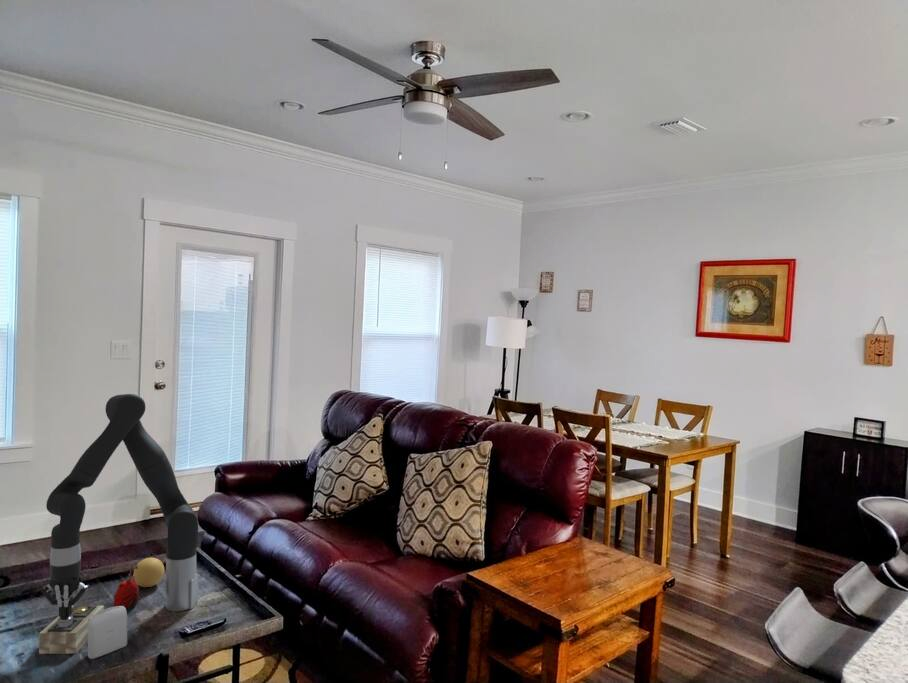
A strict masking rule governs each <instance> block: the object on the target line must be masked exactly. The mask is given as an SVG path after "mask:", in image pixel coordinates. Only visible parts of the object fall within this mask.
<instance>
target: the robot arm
mask: <svg viewBox="0 0 908 683" xmlns="http://www.w3.org/2000/svg"><path fill="white" fill-rule="evenodd" d="M146 407H147V406H146V402H145V400H144V399H143V397H141V396H140V395H138V394H135V393H124V394H116V395H113V396H111V397H110V398H109V399H108V400H107V402H106V405H105V414H106V416H107V418H108V420H109V423H108V424H107V426H106V427H105V429H104V430H103V431H102V433H100V435H99V436H98V437H97V438H96V439H95V440H94V441H93V442H92V443H91V444H90V445H89V446H88V448H86V450H85V451H84V452H83V453H82V455H81V456H80V457H79V459H78V461H77V462H76V463H75V465H74V466H73V468H72V470H71V471H70V472H69V474H68V475H67V476H66V477H65V478H64V479H63V480H62V481H61V482H60V483H59V484H58V485H57V486H56V487H55V488H54V489H53V490H52V491H51V492H50V494H49V495H48V498H47V500H46V503H45V505H46V510H47V511H48V512H49V513H50V514H51V515H55V516H58V517H59V518H60V519H59V523H58V524H55V525H54V526H53V527H52V529H51V533H50V536H51V537H50V553H49V578H50V579H49V581H48V584H46V585H44V586H43V587H42V588H41V589H40V592H41V594H43V596H44V597H45V598H46V599H47V601H48V602H49V603H50V604H51V605H52V606H57V607H58V616H59V617H61V619H67V618H68V617H69V616H70V615H71V614H72V606H75V605H76V603H78V601H79V600H81V598H83V596H84V595H85V594H86V592H87V591H88V590H89V589H90V585H89V584H86V585H85V583H83V581H82V578H81V571H82V570H81V569H82V567H81V566H82V565H81V564H82V560H81V559H82V556H81V554H82V549H81V527H82V523H83V520H84V515H85V514H86V513H85V512H86V507H87V506H86V501H85V499H84V496H83V495H82V494H80V492H81V490H83V489H85V488H90V487H92V486H93V485H94V483H95V482H96V481H97V479H98V478H99V476H100V475H101V473H102V471H103V470H104V468H105V466H106V464H107V463H108V462H109V459H110V458H111V457H112V455H113V454H114V452H116V450H117V448H118V447H119V446H120V444H121V443H122V441H123V443H124V445H125V447H126V450H127V452H128V454H129V457H130V458H131V460H132V462H133V464H134V466H135V469H136V470H137V472H138V474H139V476H140V479H141V480H142V481H143V483H144V484H145V486H146V488H148V490H149V491H150V492H151V494H152V495H153V496H154V498H155V499H156V500H157V503H158V505H159V507H160V510H161V512H162V515H163V519H164V523H165V525H166V528H167V544H166V550H165V609H166V610H167V611H170V612H182V611H186V610H192V609H193V608H194V606H195V605H196V604H197V602H198V600H199V598H198V597H199V573H197V548H198V542H199V519H198V518H199V517H198V516H197V514H196V512H195V510H194V509H193V508H192V506H191V505H190V504H189V502H188V501H187V499H186V498H185V497H184V495H183V494H182V492H181V490H180V488H179V485H178V483H177V482H178V481H177V478H176V476H175V472H174V470H173V467H172V464H171V463H170V462H171V461H169V458H168V456H167V455H166V452H165V451H164V450H163V448H162V446H160V444H158V442H157V441H156V440H154V438H153V437H152V436H151V435H150V434H148V431H146V429H145V427H144V426H143V424H142V421H141V419H142V417H143V416H144V414H145V412H146ZM76 590H77V592H78V593H77V594H75V592H76ZM74 595H75V596H74Z"/></svg>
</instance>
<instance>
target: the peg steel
mask: <svg viewBox="0 0 908 683" xmlns="http://www.w3.org/2000/svg"><path fill="white" fill-rule="evenodd" d="M72 625H73V615H70V616H69V617H68V618H67V619H61V617H59V618H58V628H70V627H71V626H72Z"/></svg>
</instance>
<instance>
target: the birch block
mask: <svg viewBox="0 0 908 683" xmlns="http://www.w3.org/2000/svg"><path fill="white" fill-rule="evenodd" d="M82 606H85V607H87V611H86V612H85V613H84V614H73V610H74V609H75V608H78V607H82ZM104 609H105V605H97V604H74V605H72V614H71V615H73V625H72V626H71V627H70V628H58V618H59V615H58V616H57V617H56V618H55V619H53V620H52V621H51V622H50V623H49V624H48V625H47V626H46V627H44V628H43V629H42V630H41V631H40V632H39V633H38V635H39V636H38V644H39V645H38V646H39V647H38V649H39V650H38V653H39V654H40V655H46V654H47V655H49V654H50V655H52V654H54V655H55V654H58V655H59V654H61V655H62V654H65V655H66V654H77V653H78V652H79V651H80V650H81V649H82V648H83V647H84V645H86V643H88V618H90V617H91V616H92V615H94V614H96V613H98V612H100V611H102V610H104Z"/></svg>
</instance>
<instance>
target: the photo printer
mask: <svg viewBox="0 0 908 683" xmlns="http://www.w3.org/2000/svg"><path fill="white" fill-rule="evenodd" d="M127 613H128V612H127V610H126V608H125V607H124V606H115V607H114V606H110V607H107V608H104V610H102V611H100V612H98V613H96V614H94V615H92V616H91V617H90V618H88V641H87V657H88V658H89V659H91V660H93V659H97V658H99V657H102V656H104V655H107V654H110V653H113V652H114V651H118V650H119V649H122V648H125V647H126V646H127V645H128V614H127Z"/></svg>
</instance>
